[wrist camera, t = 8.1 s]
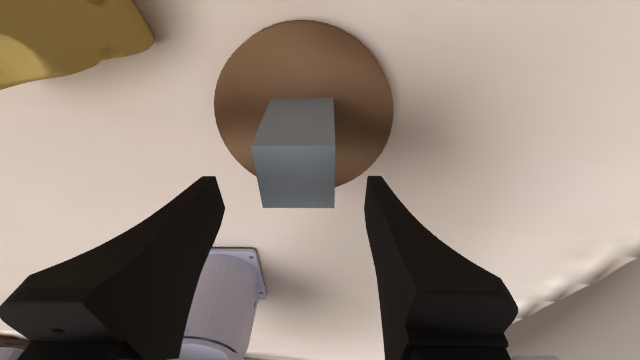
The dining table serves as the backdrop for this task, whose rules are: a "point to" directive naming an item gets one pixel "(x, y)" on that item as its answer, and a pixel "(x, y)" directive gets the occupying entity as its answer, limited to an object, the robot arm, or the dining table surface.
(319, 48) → the disc
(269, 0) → the dining table surface
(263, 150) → the block
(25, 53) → the cheese
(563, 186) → the dining table surface
